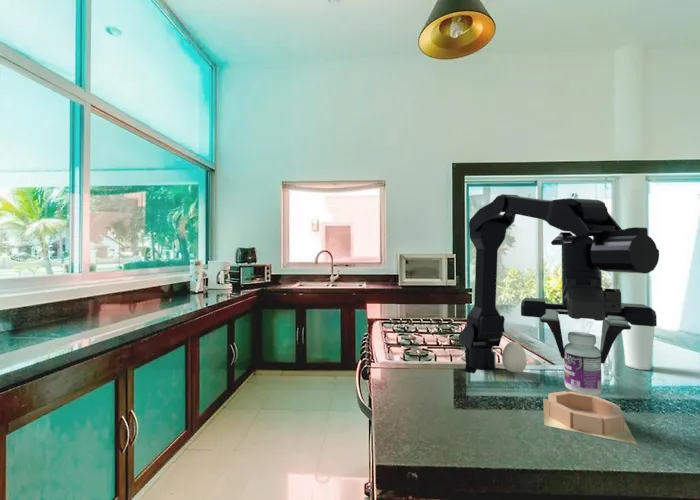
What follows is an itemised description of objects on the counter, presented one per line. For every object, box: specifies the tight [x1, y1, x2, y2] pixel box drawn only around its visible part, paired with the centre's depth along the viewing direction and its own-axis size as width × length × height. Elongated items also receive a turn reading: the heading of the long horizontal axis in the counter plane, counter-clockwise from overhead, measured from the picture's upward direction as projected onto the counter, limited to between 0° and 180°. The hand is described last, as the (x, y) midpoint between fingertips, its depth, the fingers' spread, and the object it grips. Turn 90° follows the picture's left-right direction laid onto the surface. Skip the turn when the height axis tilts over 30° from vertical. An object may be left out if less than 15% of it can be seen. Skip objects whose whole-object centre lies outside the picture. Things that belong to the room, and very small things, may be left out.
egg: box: [501, 341, 528, 373], centre depth 83 cm, size 6×6×8 cm
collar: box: [547, 390, 625, 435], centre depth 58 cm, size 10×10×2 cm
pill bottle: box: [563, 331, 602, 396], centre depth 58 cm, size 5×5×10 cm
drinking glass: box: [621, 322, 656, 371], centre depth 88 cm, size 7×7×15 cm
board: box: [542, 398, 638, 446], centre depth 58 cm, size 12×12×1 cm
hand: (582, 360), depth 58 cm, fingers closed on pill bottle, 5 cm apart
